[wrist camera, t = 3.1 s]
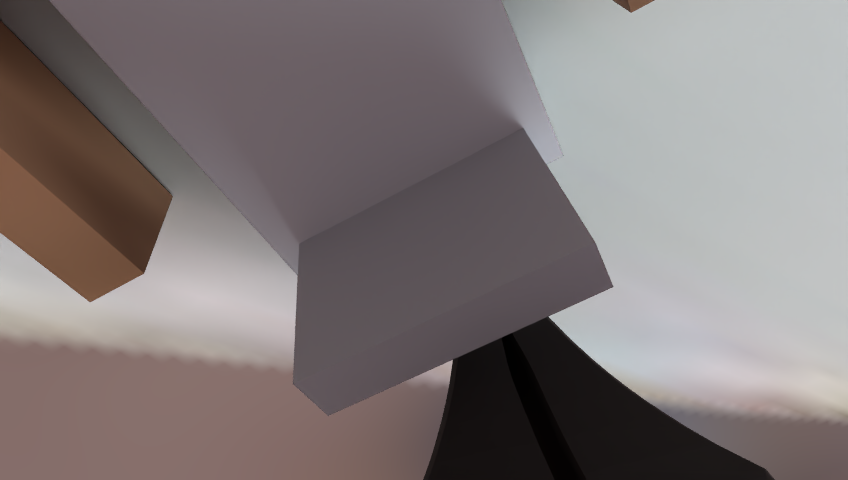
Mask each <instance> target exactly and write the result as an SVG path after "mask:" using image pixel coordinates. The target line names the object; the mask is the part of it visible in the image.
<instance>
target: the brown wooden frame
mask: <svg viewBox="0 0 848 480" xmlns="http://www.w3.org/2000/svg"><path fill="white" fill-rule="evenodd" d="M613 1H614V2H616V3H617V4H619V5H620V6H622V7H623V8H625V9H626V10H628V11H629V12H631V13H632V12H633V11H635V10H637V9H639V8H641V7H643V6H645V5H647V4H648V3H650V2H652V1H654V0H613ZM172 197H173V196H172V195H171V194H170V193H169V192H168V191H167V190H166V189H165V188H164V187H163V186H162V185H161V184H160V183H159V182H158V181H157V180H156V179H155V178H154V177H153V176H152V175H151V174H150V173H149V172H148V171H147V170H146V169H145V168H144V167H143V166H142V165H141V164H140V163H139V162H138V161H137V160H136V158H135V157H134V156H133V155H132V154H131V153H130V152H129V151H128V150H127V149H126V148H125V147H124V146H123V145H122V144H121V143H120V142H119V141H118V140H117V139H116V138H115V137H114V136H113V135H112V134H111V133H110V132H109V131H108V130H107V129H106V128H105V127H104V126H103V125H102V124H101V123H100V122H99V121H98V120H97V119H96V118H95V117H94V116H93V115H92V114H91V113H90V112H89V111H88V109H87V108H86V107H85V106H84V105H83V104H82V103H81V102H80V101H79V100H78V99H77V98H76V97H75V96H74V95H73V94H72V93H71V92H70V91H69V90H68V89H67V88H66V87H65V86H64V85H63V84H62V83H61V82H60V81H59V80H58V79H57V78H56V77H55V76H54V75H53V74H52V73H51V72H50V71H49V70H48V69H47V68H46V67H45V66H44V65H43V64H42V63H41V62H40V60H39V59H38V58H37V57H36V56H35V55H34V54H33V53H32V52H31V51H30V50H29V49H28V48H27V47H26V46H25V45H24V44H23V43H22V42H21V41H20V40H19V39H18V38H17V37H16V36H15V35H14V34H13V33H12V32H11V31H10V30H9V29H8V28H7V27H6V26H5V25H4V24H3V23H2V22H1V21H0V233H1V234H3V235H4V236H5V237H7V238H8V239H9V240H10V241H12V242H13V243H14V244H16V245H17V246H18V247H20V248H21V249H22V250H23V251H25V252H26V253H27V254H29V255H30V256H31V257H32V258H34V259H35V260H36V261H38V262H39V263H40V264H41V265H43V266H44V267H45V268H47V269H48V270H49V271H50V272H52V273H53V274H54V275H56V276H57V277H58V278H59V279H61V280H62V281H63V282H65V283H66V284H67V285H69V286H70V287H71V288H72V289H74V290H75V291H76V292H78V293H79V294H80V295H81V296H83V297H84V298H85V299H87V300H88V301H89V302H92V301H94V300H95V299H97V298H99V297H101V296H103V295H105V294H107V293H108V292H110V291H112V290H114V289H116V288H118V287H120V286H122V285H123V284H125V283H127V282H129V281H131V280H133V279H135V278H136V277H138V276H140V275H142V274H144V272H145V270H146V267H147V264H148V262H149V259H150V256H151V254H152V251H153V248H154V246H155V243H156V240H157V237H158V235H159V232H160V229H161V227H162V224H163V221H164V219H165V216H166V213H167V211H168V208H169V205H170V202H171V200H172Z"/></svg>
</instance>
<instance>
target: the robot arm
mask: <svg viewBox="0 0 848 480" xmlns="http://www.w3.org/2000/svg"><path fill="white" fill-rule="evenodd" d="M423 480H774V478H773V477H772V476H771V475H770V474H769V472H768V471H767V470H766V469H764V468H762V467H760V466H758V465H756V464H754V463H752V462H750V461H748V460H746V459H744V458H742V457H740V456H738V455H737V454H734V453H733V452H730V451H729V450H727V449H724V448H723V447H720V446H719V445H717V444H715V443H713V442H711V441H710V440H708V439H706V438H704V437H703V436H701V435H699V434H698V433H696V432H694V431H692V430H691V429H689V428H687V427H686V426H684V425H683V424H681V423H679V422H678V421H676V420H675V419H673V418H672V417H670V416H668V415H667V414H665V413H664V412H662V411H661V410H659V409H658V408H656V407H655V406H653V405H652V404H650V403H648V402H647V401H646V400H644V399H643V398H641V397H640V396H639V395H637V394H636V393H634V392H633V391H632V390H630V389H629V388H628V387H626V386H625V385H624V384H622V383H621V382H620V381H618V380H617V379H616V378H615V377H613V376H612V375H611V374H609V373H608V372H607V371H606V370H605V369H603V368H602V367H601V366H600V365H599V364H597V363H596V362H595V361H594V360H593V359H592V358H590V357H589V356H588V355H587V354H586V353H585V352H584V351H583V350H582V349H581V348H579V347H578V346H577V345H576V344H575V343H574V342H573V341H572V340H571V339H570V338H569V337H568V336H567V335H566V334H565V333H564V332H563V331H562V330H561V329H560V328H559V327H558V326H557V325H556V324H555V323H554V322H553V321H552V320H551V319H550V318H549V317H546V318H544V319H541V320H539V321H537V322H535V323H532V324H530V325H528V326H526V327H524V328H521V329H519V330H517V331H515V332H513V333H510V334H508V335H506V336H504V337H502V338H499V339H497V340H495V341H493V342H490V343H488V344H486V345H484V346H482V347H479V348H477V349H475V350H473V351H471V352H468V353H466V354H464V355H462V356H460V357H457V358H455V359H453V364H452V371H451V377H450V384H449V389H448V394H447V399H446V404H445V408H444V413H443V417H442V422H441V425H440V429H439V432H438V436H437V440H436V443H435V447H434V450H433V453H432V456H431V460H430V462H429V466H428V468H427V471H426V474H425V476H424V479H423Z"/></svg>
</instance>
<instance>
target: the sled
mask: <svg viewBox="0 0 848 480" xmlns="http://www.w3.org/2000/svg"><path fill="white" fill-rule="evenodd" d="M49 1H50V2H51V3H52V4H53V5H54V7H55V8H56V9H57V10H58V11H59V12H60V13H61V14H62V15H63V17H64V18H65V19H66V20H67V21H68V22H69V23H70V24H71V25H72V26H73V28H74V29H75V30H76V31H77V32H78V33H79V34H80V35H81V36H82V38H83V39H84V40H85V41H86V42H87V43H88V44H89V45H90V46H91V47H92V49H93V50H94V51H95V52H96V53H97V54H98V55H99V56H100V57H101V59H102V60H103V61H104V62H105V63H106V64H107V65H108V66H109V67H110V68H111V70H112V71H113V72H114V73H115V74H116V75H117V76H118V77H119V78H120V80H121V81H122V82H123V83H124V84H125V85H126V86H127V87H128V88H129V90H130V91H131V92H132V93H133V94H134V95H135V96H136V97H137V98H138V99H139V101H140V102H141V103H142V104H143V105H144V106H145V107H146V108H147V109H148V111H149V112H150V113H151V114H152V115H153V116H154V117H155V118H156V119H157V120H158V122H159V123H160V124H161V125H162V126H163V127H164V128H165V129H166V130H167V132H168V133H169V134H170V135H171V136H172V137H173V138H174V139H175V140H176V142H177V143H178V144H179V145H180V146H181V147H182V148H183V149H184V150H185V151H186V153H187V154H188V155H189V156H190V157H191V158H192V159H193V160H194V161H195V163H196V164H197V165H198V166H199V167H200V168H201V169H202V170H203V171H204V172H205V174H206V175H207V176H208V177H209V178H210V179H211V180H212V181H213V182H214V184H215V185H216V186H217V187H218V188H219V189H220V190H221V191H222V192H223V193H224V195H225V196H226V197H227V198H228V199H229V200H230V201H231V202H232V203H233V205H234V206H235V207H236V208H237V209H238V210H239V211H240V212H241V213H242V215H243V216H244V217H245V218H246V219H247V220H248V221H249V222H250V223H251V224H252V226H253V227H254V228H255V229H256V230H257V231H258V232H259V233H260V234H261V236H262V237H263V238H264V239H265V240H266V241H267V242H268V243H269V244H270V245H271V247H272V248H273V249H274V250H275V251H276V252H277V253H278V254H279V255H280V257H281V258H282V259H283V260H284V261H285V262H286V263H287V264H288V265H289V267H290V268H291V269H292V270H293V271H294V272H295V273H296V274H297V275H298V282H297V304H296V326H295V348H294V370H293V384H294V385H295V386H296V387H297V388H298V389H299V390H300V391H301V392H303V393H304V394H305V395H306V396H307V397H308V398H309V399H310V400H311V401H312V402H313V403H315V404H316V405H317V406H318V407H319V408H320V409H321V410H322V411H323V412H324V413H326V414H327V415H328V416H329V415H331V414H333V413H336V412H338V411H340V410H342V409H344V408H347V407H349V406H351V405H353V404H355V403H358V402H360V401H362V400H364V399H367V398H369V397H371V396H373V395H375V394H378V393H380V392H382V391H384V390H387V389H389V388H391V387H393V386H395V385H398V384H400V383H402V382H404V381H406V380H409V379H411V378H413V377H415V376H417V375H420V374H422V373H424V372H426V371H429V370H431V369H433V368H435V367H437V366H440V365H442V364H444V363H446V362H448V361H451V360H453V359H455V358H457V357H460V356H462V355H464V354H466V353H468V352H471V351H473V350H475V349H477V348H479V347H482V346H484V345H486V344H488V343H490V342H493V341H495V340H497V339H499V338H502V337H504V336H506V335H508V334H510V333H513V332H515V331H517V330H519V329H521V328H524V327H526V326H528V325H530V324H532V323H535V322H537V321H539V320H541V319H544V318H546V317H548V316H550V315H552V314H555V313H557V312H559V311H561V310H563V309H566V308H568V307H570V306H572V305H574V304H577V303H579V302H581V301H583V300H586V299H588V298H590V297H592V296H594V295H597V294H599V293H601V292H603V291H605V290H608V289H610V288H612V287H613V285H612V282H611V280H610V277H609V275H608V273H607V270H606V268H605V265H604V263H603V260H602V258H601V255H600V253H599V251H598V248H597V246H596V243H595V241H594V240H593V238H592V237H591V235H590V233H589V232H588V230H587V229H586V227H585V225H584V224H583V222H582V221H581V219H580V217H579V216H578V214H577V213H576V211H575V209H574V208H573V206H572V205H571V203H570V201H569V200H568V198H567V197H566V195H565V194H564V192H563V190H562V189H561V187H560V186H559V184H558V182H557V181H556V179H555V178H554V176H553V174H552V173H551V171H550V170H549V168H548V166H547V164H549V163H551V162H553V161H555V160H557V159H559V158H561V157H563V156H564V155H563V152H562V150H561V147H560V145H559V142H558V140H557V137H556V135H555V132H554V130H553V127H552V125H551V122H550V120H549V117H548V115H547V112H546V110H545V108H544V105H543V103H542V100H541V98H540V95H539V93H538V90H537V88H536V85H535V83H534V80H533V78H532V75H531V73H530V70H529V68H528V65H527V63H526V60H525V58H524V55H523V53H522V51H521V48H520V46H519V43H518V41H517V38H516V36H515V33H514V31H513V28H512V26H511V23H510V21H509V18H508V16H507V13H506V11H505V8H504V6H503V3H502V1H501V0H49Z"/></svg>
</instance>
